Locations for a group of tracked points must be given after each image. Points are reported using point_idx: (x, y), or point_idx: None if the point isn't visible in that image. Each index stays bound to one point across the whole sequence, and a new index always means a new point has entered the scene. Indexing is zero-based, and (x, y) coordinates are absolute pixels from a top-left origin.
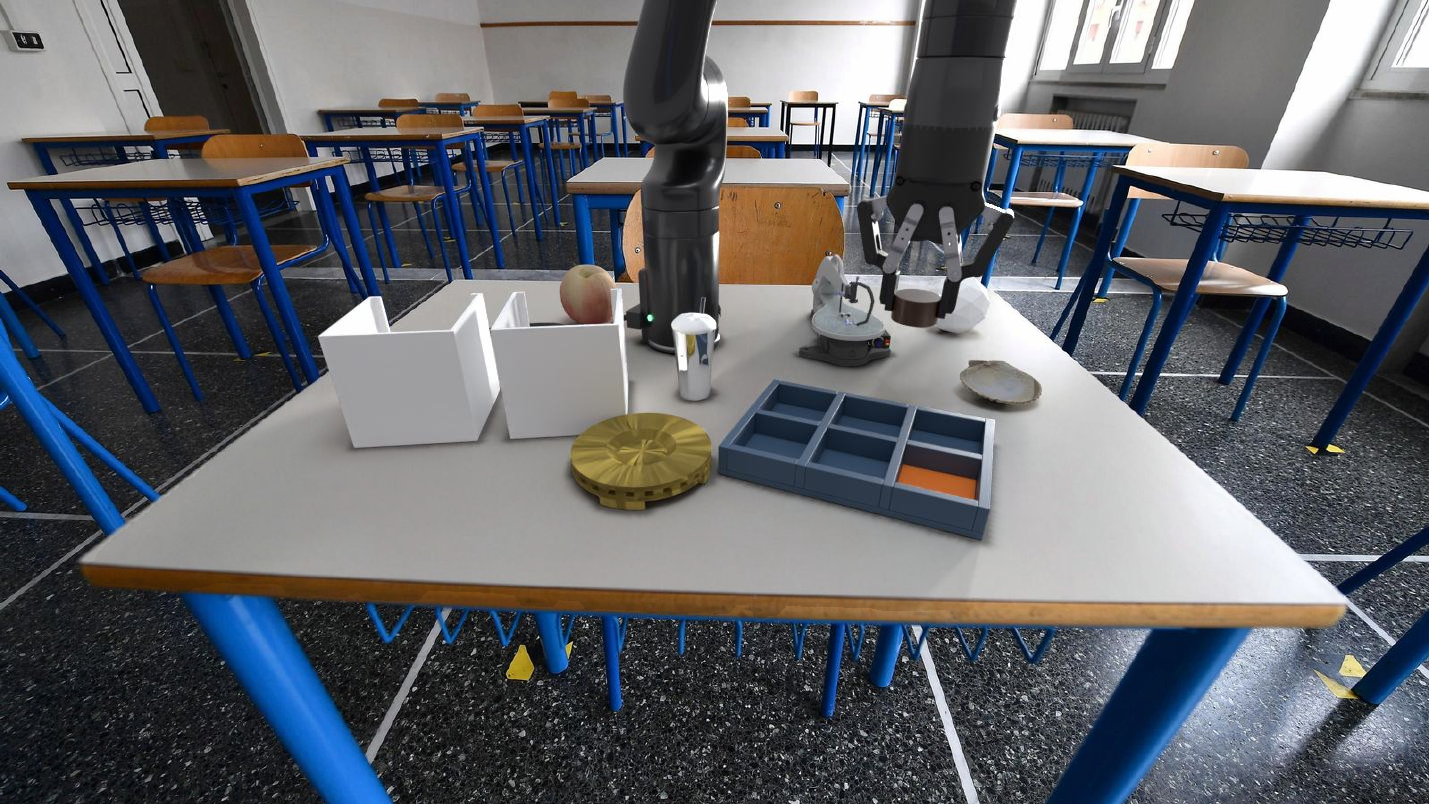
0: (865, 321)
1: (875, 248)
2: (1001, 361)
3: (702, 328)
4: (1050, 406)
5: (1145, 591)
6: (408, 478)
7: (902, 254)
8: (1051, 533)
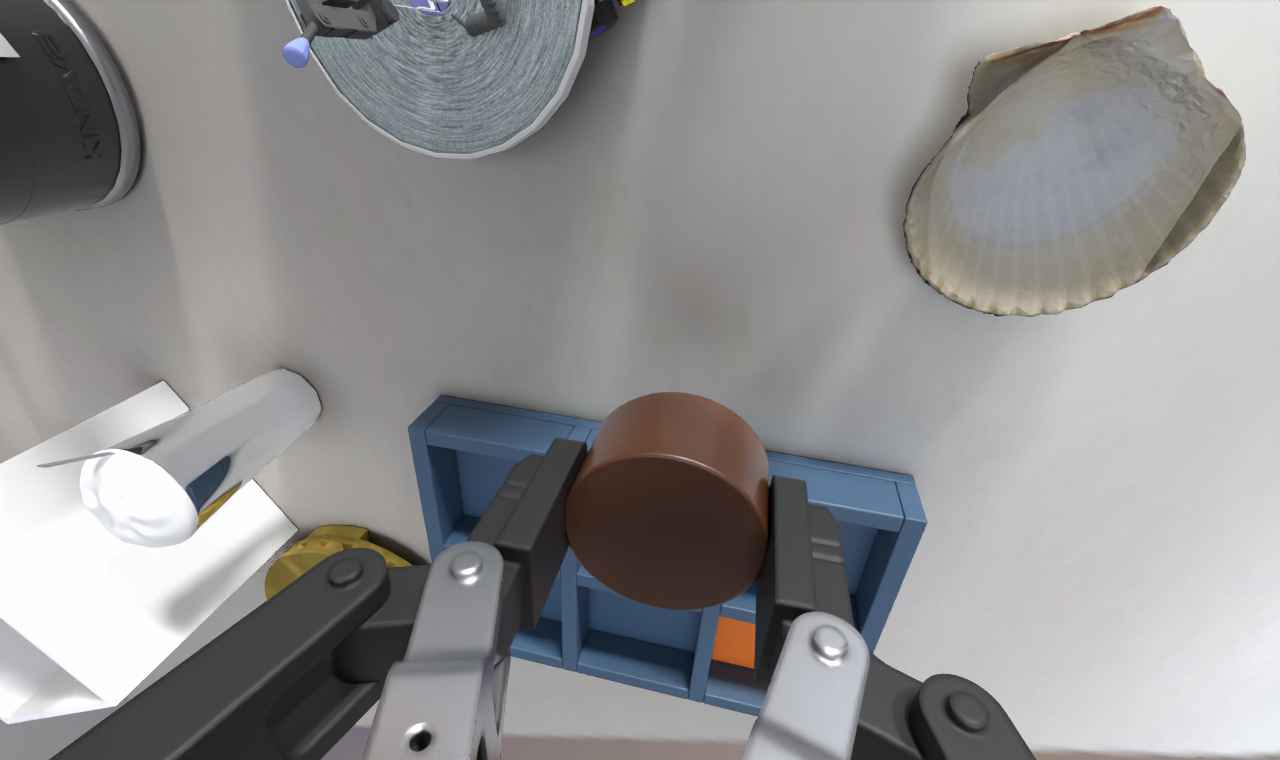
0: (493, 24)
1: (351, 725)
2: (1146, 20)
3: (181, 539)
4: (1224, 214)
5: (1030, 741)
6: (195, 632)
7: (500, 746)
8: (945, 670)
